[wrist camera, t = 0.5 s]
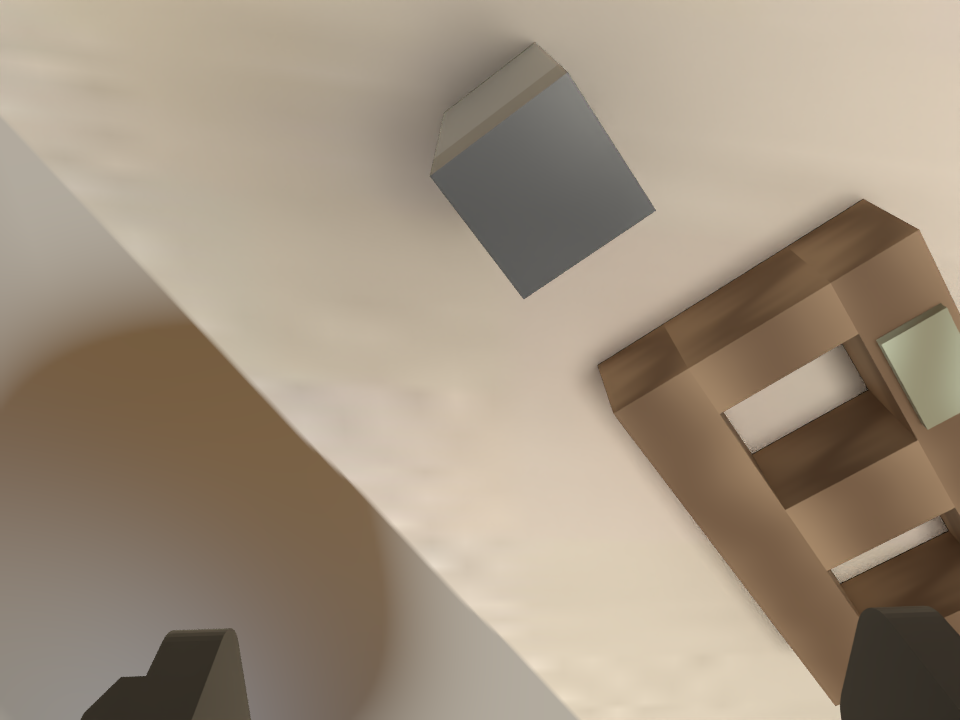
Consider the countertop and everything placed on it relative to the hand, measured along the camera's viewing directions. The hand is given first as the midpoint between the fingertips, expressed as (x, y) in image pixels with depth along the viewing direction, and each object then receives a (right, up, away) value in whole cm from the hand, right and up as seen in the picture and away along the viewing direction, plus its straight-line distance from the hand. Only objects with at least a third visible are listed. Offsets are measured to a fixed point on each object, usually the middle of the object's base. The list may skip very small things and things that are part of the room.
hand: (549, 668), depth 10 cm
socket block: (+15, 0, +24) cm, 28 cm away
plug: (+1, +13, +18) cm, 22 cm away
